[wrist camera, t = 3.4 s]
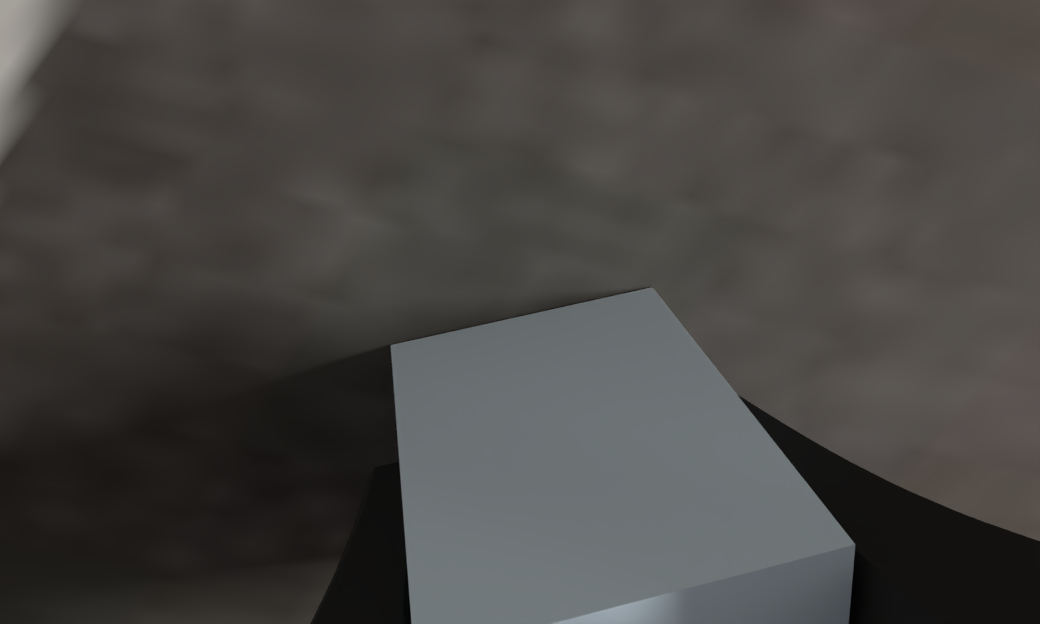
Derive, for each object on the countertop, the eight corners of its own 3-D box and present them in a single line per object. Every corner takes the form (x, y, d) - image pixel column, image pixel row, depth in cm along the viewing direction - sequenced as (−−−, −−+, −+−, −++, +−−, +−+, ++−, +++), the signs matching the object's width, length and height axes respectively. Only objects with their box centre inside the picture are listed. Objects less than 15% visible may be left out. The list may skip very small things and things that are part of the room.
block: (443, 543, 15) (491, 898, 9) (390, 344, 12) (413, 659, 7) (667, 488, 15) (834, 798, 10) (652, 287, 13) (855, 544, 8)
